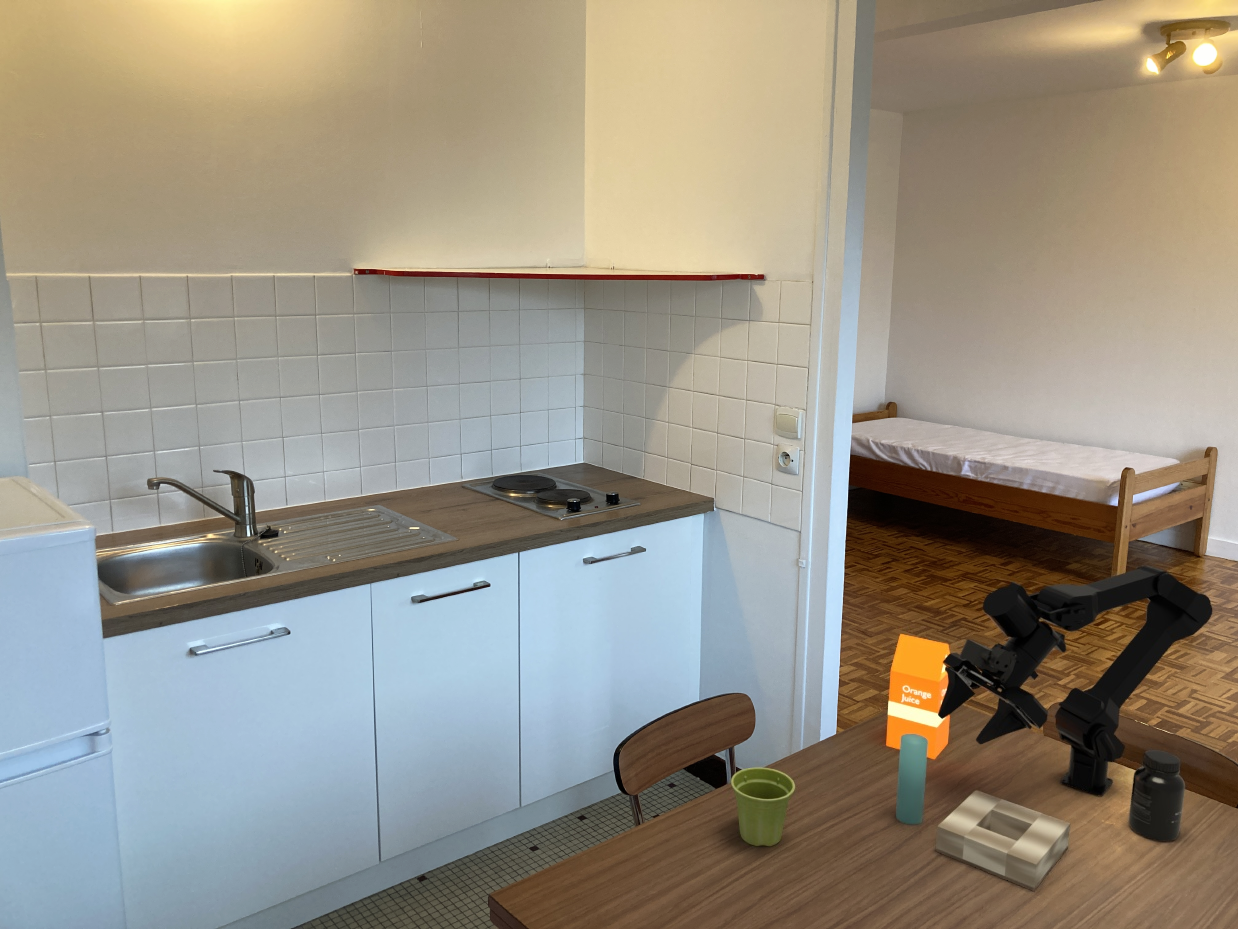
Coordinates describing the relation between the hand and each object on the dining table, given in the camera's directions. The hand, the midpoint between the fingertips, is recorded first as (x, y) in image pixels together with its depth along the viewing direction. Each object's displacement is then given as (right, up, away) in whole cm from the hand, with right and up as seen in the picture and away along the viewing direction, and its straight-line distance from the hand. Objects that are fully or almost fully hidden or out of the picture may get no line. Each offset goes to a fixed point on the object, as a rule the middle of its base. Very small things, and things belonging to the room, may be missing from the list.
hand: (958, 729), depth 150 cm
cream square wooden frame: (+3, -15, -9) cm, 18 cm away
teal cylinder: (-8, -14, 0) cm, 16 cm away
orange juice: (+1, -10, +24) cm, 26 cm away
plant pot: (-31, -15, -5) cm, 35 cm away
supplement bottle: (+29, -15, -3) cm, 32 cm away
